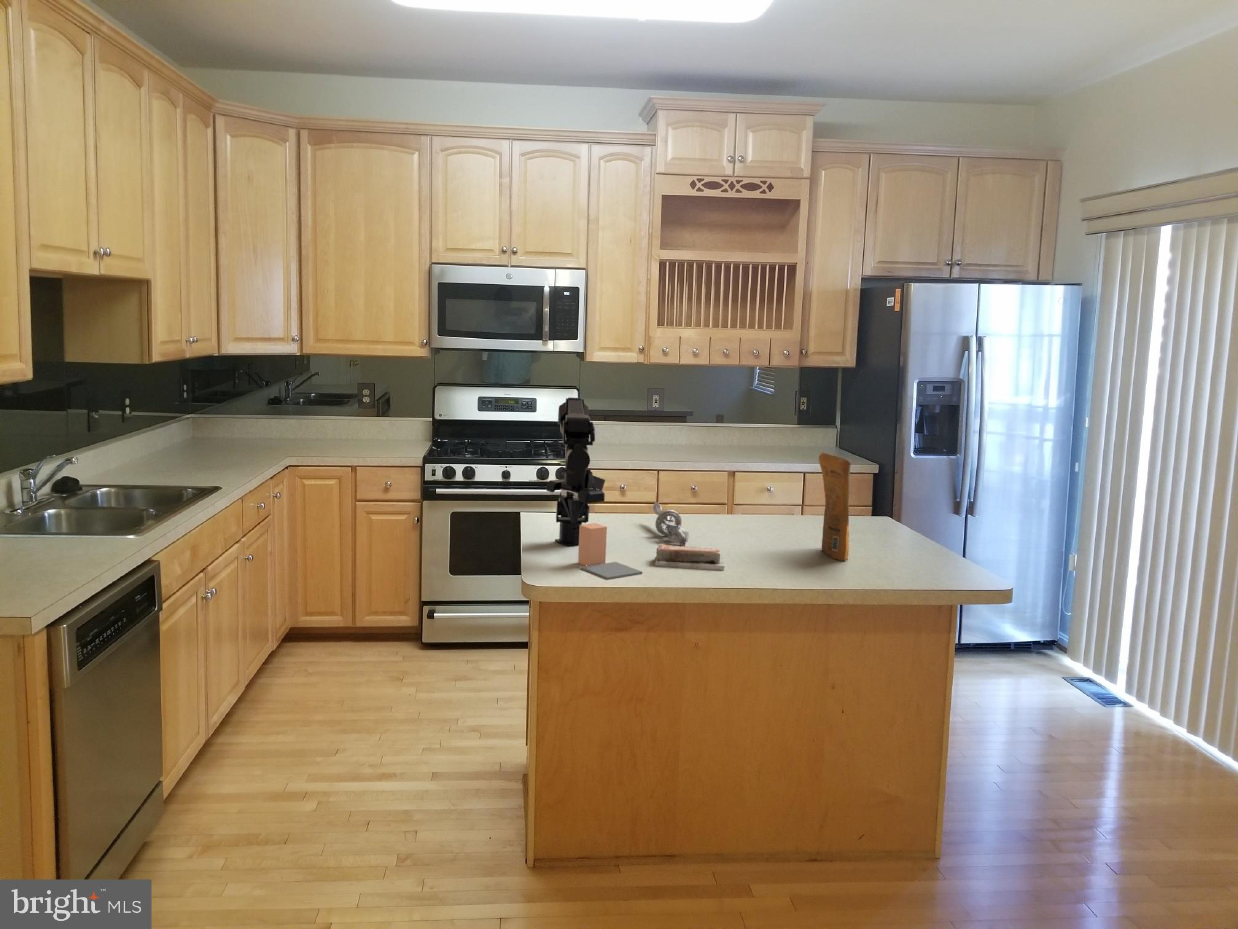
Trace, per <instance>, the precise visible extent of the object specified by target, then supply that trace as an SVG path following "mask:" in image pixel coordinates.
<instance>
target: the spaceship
mask: <svg viewBox="0 0 1238 929" xmlns="http://www.w3.org/2000/svg"><path fill="white" fill-rule="evenodd" d="M652 511H653V512H654V513H655V515H656V516H657V517H656V519H655V523H654V524H655V530H656V531H657V533H658V534H660V535H661V536H665V537H667V538H666V539H667V540H668V541H669V542H672V543H675V544H677V545H679V546H685V547H686V544H687V543H688V542H689V538H690V537H689V531H686V529H685V528H683V527H682V522H683V521H682V517H681V515H680V514H679V512H677V511H675V510H672V509H665V510H663V509H662V505H661V504H660V503H659V502H654V503H653V506H652ZM672 518H673V519H672ZM664 526H665V528H664ZM680 529H681V530H682V531H680Z"/></svg>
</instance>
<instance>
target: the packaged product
mask: <svg viewBox="0 0 1238 929" xmlns="http://www.w3.org/2000/svg"><path fill="white" fill-rule="evenodd" d="M655 556H656V557H655V562H654V564H655V567H664V568H677V569H678V568H679V569H680V568H681V569H691V570H692V569H694V570H709V571H710V570H711V571H725V560H724V558H723V557H721V553H720V549H717V548H707V547H698V546H697V547H695V546H686V545H685V546H681V545H669V544H659V545H658V547H657V548H656V555H655Z"/></svg>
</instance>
